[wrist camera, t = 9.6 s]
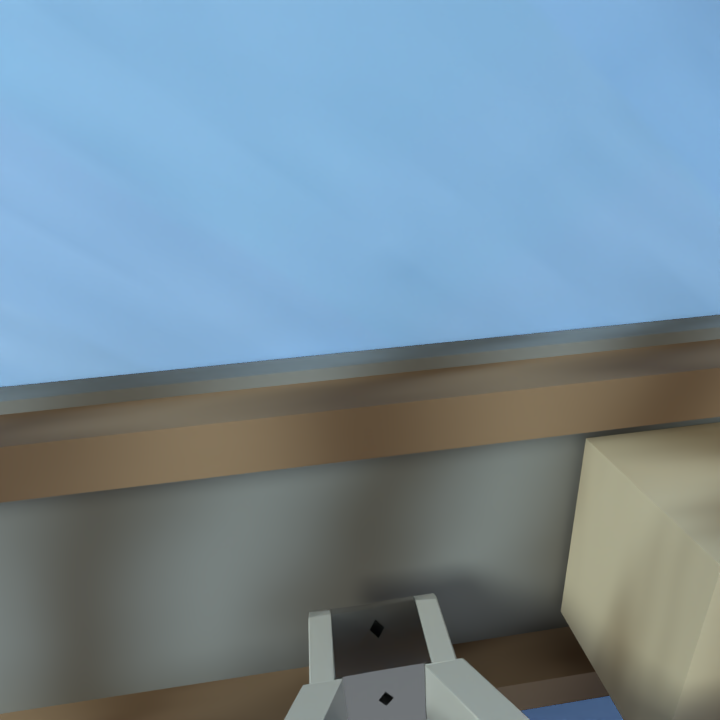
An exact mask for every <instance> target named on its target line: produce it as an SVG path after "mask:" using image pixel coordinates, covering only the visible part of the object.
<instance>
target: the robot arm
mask: <svg viewBox="0 0 720 720" xmlns="http://www.w3.org/2000/svg"><path fill="white" fill-rule="evenodd" d="M308 630H309V684H306V685H303V686H302V688H301V689H300V691H299V693H298V695H297V697H296V699H295V700H294V702H293V704H292V706H291V708H290V709H289V711H288V713H287V715H286V717H285V719H284V720H530V719H529V718H528V717H527V716H525V715H524V714H523V713H522V712H521V711H520V710H519V709H518V708H517V707H516V706H515V705H514V704H512V703H511V702H510V701H509V700H508V699H507V698H506V697H505V696H504V695H503V694H502V693H501V692H499V691H498V690H497V689H496V688H495V687H494V686H493V685H492V684H491V683H490V682H489V681H488V680H486V679H485V678H484V677H483V676H482V675H481V674H480V673H479V672H478V671H477V670H476V669H475V668H473V667H472V666H471V665H470V664H469V663H468V662H467V661H466V660H465V659H464V658H459V659H457V658H456V655H455V652H454V649H453V646H452V643H451V640H450V637H449V633H448V630H447V627H446V624H445V621H444V618H443V615H442V612H441V609H440V606H439V603H438V600H437V597H436V595H435V594H434V593H430V594H424V595H418V596H409V597H403V598H397V599H391V600H385V601H380V602H374V603H372V604H366V605H358V606H350V607H342V608H335V609H328V610H321V611H314V612H309V618H308Z"/></svg>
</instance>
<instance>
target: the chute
mask: <svg viewBox="0 0 720 720" xmlns="http://www.w3.org/2000/svg"><path fill="white" fill-rule="evenodd" d="M717 422H720V315H712V316H702V317H692V318H683V319H673V320H663V321H653V322H643V323H633V324H623V325H613V326H603V327H593V328H583V329H574V330H564V331H554V332H544V333H534V334H524V335H514V336H504V337H494V338H484V339H475V340H465V341H455V342H445V343H435V344H425V345H415V346H405V347H395V348H385V349H375V350H366V351H356V352H346V353H336V354H326V355H316V356H306V357H296V358H286V359H276V360H266V361H257V362H247V363H237V364H227V365H217V366H207V367H197V368H187V369H177V370H167V371H157V372H148V373H138V374H128V375H118V376H108V377H98V378H88V379H78V380H68V381H58V382H48V383H39V384H29V385H19V386H9V387H0V720H284V719H285V717H286V715H287V713H288V711H289V709H290V708H291V706H292V704H293V702H294V700H295V699H296V697H297V695H298V693H299V691H300V689H301V688H302V686H303V685H306V684H309V630H308V618H309V612H314V611H321V610H328V609H335V608H342V607H350V606H358V605H366V604H372V603H374V602H380V601H385V600H391V599H397V598H403V597H409V596H418V595H424V594H430V593H434V594H435V595H436V597H437V600H438V603H439V606H440V609H441V612H442V615H443V618H444V621H445V624H446V627H447V630H448V633H449V637H450V640H451V643H452V646H453V649H454V652H455V655H456V658H457V659H459V658H464V659H465V660H466V661H467V662H468V663H469V664H470V665H471V666H472V667H473V668H475V669H476V670H477V671H478V672H479V673H480V674H481V675H482V676H483V677H484V678H485V679H486V680H488V681H489V682H490V683H491V684H492V685H493V686H494V687H495V688H496V689H497V690H498V691H499V692H501V693H502V694H503V695H504V696H505V697H506V698H507V699H508V700H509V701H510V702H511V703H512V704H514V705H515V706H516V707H517V708H518V709H519V710H520V711H521V710H527V709H533V708H539V707H545V706H551V705H556V704H562V703H568V702H574V701H580V700H586V699H592V698H598V697H604V696H610V695H609V694H608V692H607V690H606V689H605V687H604V685H603V683H602V682H601V680H600V678H599V677H598V675H597V673H596V671H595V670H594V668H593V666H592V665H591V663H590V661H589V659H588V658H587V656H586V654H585V653H584V651H583V649H582V647H581V646H580V644H579V642H578V640H577V639H576V637H575V635H574V634H573V632H572V630H571V628H570V627H569V625H568V623H567V622H566V620H565V618H564V616H563V615H562V613H561V606H562V599H563V592H564V585H565V578H566V571H567V565H568V558H569V551H570V544H571V537H572V530H573V524H574V517H575V510H576V503H577V496H578V489H579V483H580V476H581V469H582V462H583V455H584V448H585V442H586V438H592V437H601V436H609V435H617V434H626V433H634V432H642V431H651V430H659V429H667V428H675V427H684V426H692V425H700V424H709V423H717Z"/></svg>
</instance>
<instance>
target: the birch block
mask: <svg viewBox="0 0 720 720" xmlns="http://www.w3.org/2000/svg"><path fill="white" fill-rule="evenodd" d="M561 613H562V615H563V616H564V618H565V620H566V622H567V623H568V625H569V627H570V628H571V630H572V632H573V634H574V635H575V637H576V639H577V640H578V642H579V644H580V646H581V647H582V649H583V651H584V653H585V654H586V656H587V658H588V659H589V661H590V663H591V665H592V666H593V668H594V670H595V671H596V673H597V675H598V677H599V678H600V680H601V682H602V683H603V685H604V687H605V689H606V690H607V692H608V694H609V695H610V697H611V699H612V701H613V702H614V704H615V706H616V707H617V709H618V711H619V713H620V714H621V716H622V718H623V719H624V720H720V422H717V423H709V424H700V425H692V426H684V427H675V428H667V429H659V430H651V431H642V432H634V433H626V434H617V435H609V436H601V437H592V438H586V442H585V448H584V455H583V462H582V469H581V476H580V483H579V489H578V496H577V503H576V510H575V517H574V524H573V530H572V537H571V544H570V551H569V558H568V565H567V571H566V578H565V585H564V592H563V599H562V606H561Z"/></svg>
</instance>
